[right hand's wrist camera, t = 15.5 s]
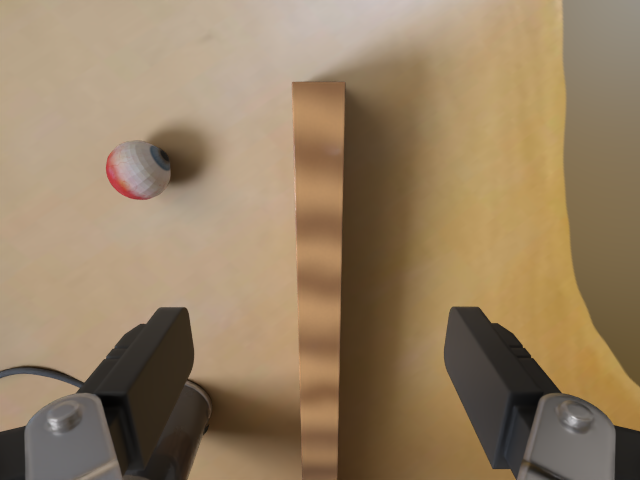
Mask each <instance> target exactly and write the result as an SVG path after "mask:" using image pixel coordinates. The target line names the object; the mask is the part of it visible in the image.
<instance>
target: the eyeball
mask: <svg viewBox="0 0 640 480" xmlns="http://www.w3.org/2000/svg"><path fill="white" fill-rule="evenodd" d="M106 172H107V177H108V179H109V181H110V183H111V184H112V186H113V187H114V188H115V189H116V190H117V191H118V192H119V193H121V194H122V195H124V196H126V197H129V198H132V199H139V200H146V199H150V198H153V197H155V196H157V195H159V194H160V193H162V192H163V191H164V190H165V188H166V187H167V185H168V183H169V181H170V175H171V174H170V161H169V157H168V156H167V154H166V153H165V152H164V151H163V150H161V149H160V148H158V147H156V146H154V145H152V144H150V143H147V142H143V141H128V142H124V143H122V144H120V145H118V146H117V147H116V148H115V149H114V150H113V151H112V152H111V153H110V155H109V157H108V159H107V164H106Z"/></svg>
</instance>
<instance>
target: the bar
mask: <svg viewBox="0 0 640 480" xmlns="http://www.w3.org/2000/svg"><path fill="white" fill-rule="evenodd" d="M292 105H293V143H294V181H295V218H296V256H297V294H298V332H299V369H300V407H301V445H302V480H337V473H338V423H339V374H340V325H341V275H342V226H343V177H344V128H345V82H292Z"/></svg>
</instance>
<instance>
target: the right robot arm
mask: <svg viewBox="0 0 640 480" xmlns="http://www.w3.org/2000/svg"><path fill="white" fill-rule="evenodd" d="M444 361H445V366H446V369H447V372H448V374H449V376H450V378H451V380H452V383H453V385H454V387H455V389H456V391H457V393H458V395H459V398H460V400H461V402H462V404H463V406H464V408H465V410H466V413H467V415H468V417H469V419H470V421H471V423H472V425H473V428H474V430H475V432H476V434H477V436H478V438H479V440H480V443H481V445H482V447H483V449H484V451H485V453H486V455H487V457H488V460H489V462H490V464H491V466H492V468H493V469H511V471H512V473H513V475H514V477H515V478H516V480H640V431H636V430H632V429H628V428H623V427H619V426H615V425H613V424H612V422H611V420H610V419H609V418H608V417H607V416H606V415H605V414H604V413H603V412H602V411H601V410H599V409H598V408H597V407H595V406H594V405H592V404H591V403H589V402H587V401H585V400H583V399H580V398H578V397H575V396H572V395H568V394H563V393H561V392H560V390H559V389H558V388H557V387H556V385H555V384H554V383H553V382H552V381H551V379H550V378H549V377H548V376H547V375H546V373H545V372H544V371H543V370H542V368H541V367H540V366H539V365H538V364H537V362H536V361H535V360H534V359H533V358H531V355H530V354H529V353H528V351H527V350H526V349H525V348H523V345H522V344H521V343H520V342H519V340H518V339H517V338H516V337H515V336H514V334H513V333H511V332H510V331H508V330H507V329H505V328H504V327H502V326H501V325H499V324H498V323H491V322H490V321H489V320H488V318H487V317H486V316H485V314H484V313H483V312H482V310H481V309H480V308H479V307H452V308H451V309H450V312H449V318H448V325H447V333H446V340H445V347H444ZM193 362H194V347H193V340H192V333H191V326H190V319H189V313H188V310H187V309H186V308H185V307H161V308H159V309H158V310H157V311H156V312H155V313H154V315H153V316H152V317H151V319H150V320H149V321H148V322H147V324H140V325H138V326H137V327H135V328H134V329H132V330H131V331H129V332H128V333H126V334H125V335H124V336H123V337H122V338H121V339H120V341H119V342H118V343H117V344H116V345H115V348H114V349H112V350H111V352H110V353H109V354H108V355H107V356H106V359H104V360H103V361H102V362H101V364H100V365H99V366H98V367H97V368H96V370H95V371H94V372H93V373H92V374H91V376H90V377H89V378H88V379H87V380H86V382H85V383H83V382H81V381H79V380H77V379H75V378H72V377H70V376H67V375H64V374H61V373H58V372H54V371H50V370H45V369H39V368H28V367H25V368H13V369H8V370H4V371H1V372H0V378H2V377H5V376H9V375H14V374H34V375H41V376H46V377H51V378H54V379H58V380H61V381H64V382H67V383H70V384H72V385H75V386H77V387H79V388H80V389H79V390H78V391H77V393H76V394H72V395H68V396H65V397H62V398H60V399H57V400H55V401H53V402H51V403H49V404H48V405H46V406H45V407H43V408H42V409H41V410H39V411H38V412H37V413H36V414H35V415H34V416H33V417H32V418H31V419H30V420H29V422H28V424H27V425H26V426H23V427H19V428H15V429H11V430H7V431H2V432H0V480H187V479H188V476H189V473H190V471H191V468H192V465H193V462H194V459H195V456H196V453H197V451H198V448H199V445H200V442H201V439H202V436H203V435H204V434H205V433H206V432H207V429H208V426H209V425H208V426H207V423H208V420H209V418H210V415H211V412H212V403H211V400H210V397H209V396H208V394H207V393H206V392H205V391H204V390H203V389H202V388H201V387H200V386H198V385H197V384H195V383H193V382H190V381H187V379H188V377H189V375H190V373H191V370H192V367H193ZM206 426H207V427H206Z"/></svg>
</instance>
